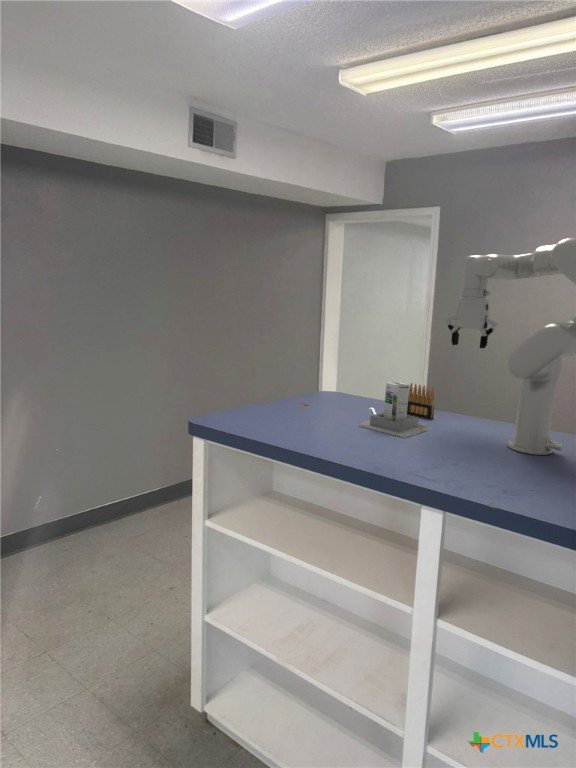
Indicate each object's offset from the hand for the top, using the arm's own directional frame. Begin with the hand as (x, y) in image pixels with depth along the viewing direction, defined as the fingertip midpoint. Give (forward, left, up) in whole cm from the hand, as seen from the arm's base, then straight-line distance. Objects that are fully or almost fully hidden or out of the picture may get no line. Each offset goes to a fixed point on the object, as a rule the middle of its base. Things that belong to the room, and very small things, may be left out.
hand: (468, 346), depth 177 cm
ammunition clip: (+18, -4, -29) cm, 34 cm away
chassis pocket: (+15, +18, -28) cm, 37 cm away
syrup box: (+15, +18, -28) cm, 36 cm away
